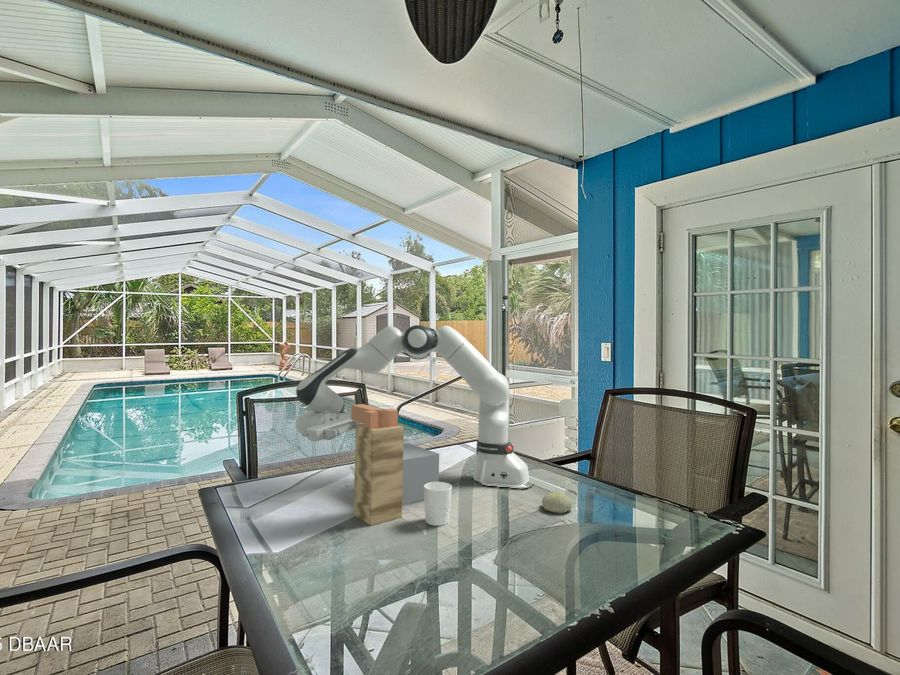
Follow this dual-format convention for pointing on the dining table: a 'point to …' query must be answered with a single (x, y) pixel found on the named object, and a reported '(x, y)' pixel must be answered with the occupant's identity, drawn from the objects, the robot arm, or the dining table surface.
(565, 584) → the dining table surface
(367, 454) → the pedestal
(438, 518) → the white cup
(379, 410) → the terracotta notched block
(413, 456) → the low block
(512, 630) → the dining table surface
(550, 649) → the dining table surface
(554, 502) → the sea urchin shell
